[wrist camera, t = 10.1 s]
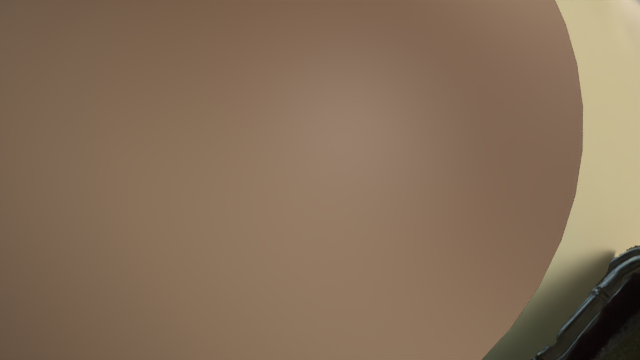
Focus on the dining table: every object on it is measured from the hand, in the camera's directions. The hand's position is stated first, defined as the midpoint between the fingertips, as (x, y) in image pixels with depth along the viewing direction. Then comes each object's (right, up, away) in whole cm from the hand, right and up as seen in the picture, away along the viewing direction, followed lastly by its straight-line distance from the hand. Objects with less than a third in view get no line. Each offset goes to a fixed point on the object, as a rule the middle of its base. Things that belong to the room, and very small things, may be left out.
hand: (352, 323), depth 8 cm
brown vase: (-2, 0, +9) cm, 9 cm away
